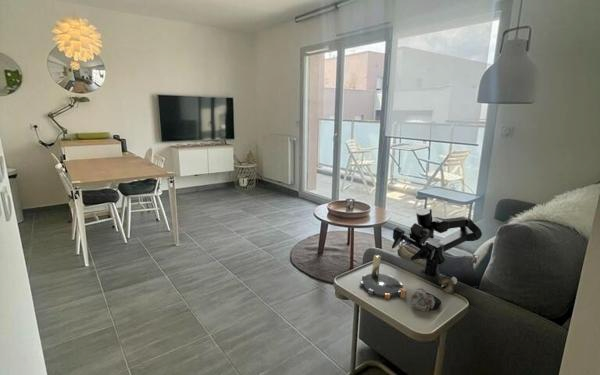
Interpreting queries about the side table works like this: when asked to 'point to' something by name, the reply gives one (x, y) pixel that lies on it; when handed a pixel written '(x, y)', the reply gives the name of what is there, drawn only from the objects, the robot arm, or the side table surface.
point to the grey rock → (424, 301)
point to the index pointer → (403, 293)
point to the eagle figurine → (448, 283)
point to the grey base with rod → (380, 282)
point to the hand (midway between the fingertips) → (401, 253)
